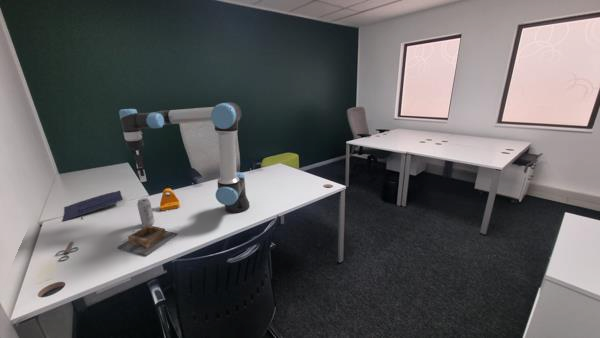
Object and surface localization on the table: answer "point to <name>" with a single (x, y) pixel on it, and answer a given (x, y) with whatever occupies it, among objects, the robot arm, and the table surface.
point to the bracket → (169, 200)
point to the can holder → (147, 240)
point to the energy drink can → (145, 212)
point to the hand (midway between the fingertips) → (142, 177)
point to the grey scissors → (66, 251)
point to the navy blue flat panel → (91, 204)
